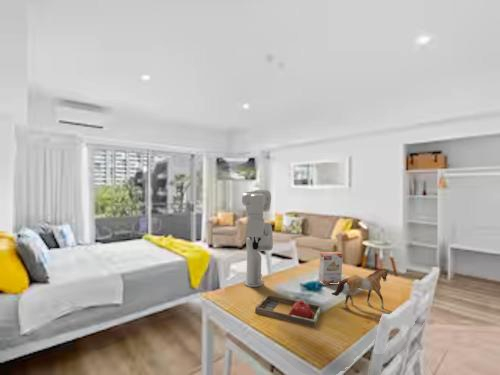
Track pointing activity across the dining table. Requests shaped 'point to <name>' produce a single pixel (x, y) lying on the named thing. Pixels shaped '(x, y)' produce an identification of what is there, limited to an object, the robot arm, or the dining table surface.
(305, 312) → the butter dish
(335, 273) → the cracker box
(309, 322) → the box
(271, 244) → the robot arm
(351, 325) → the dining table surface
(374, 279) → the horse figurine
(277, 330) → the dining table surface
